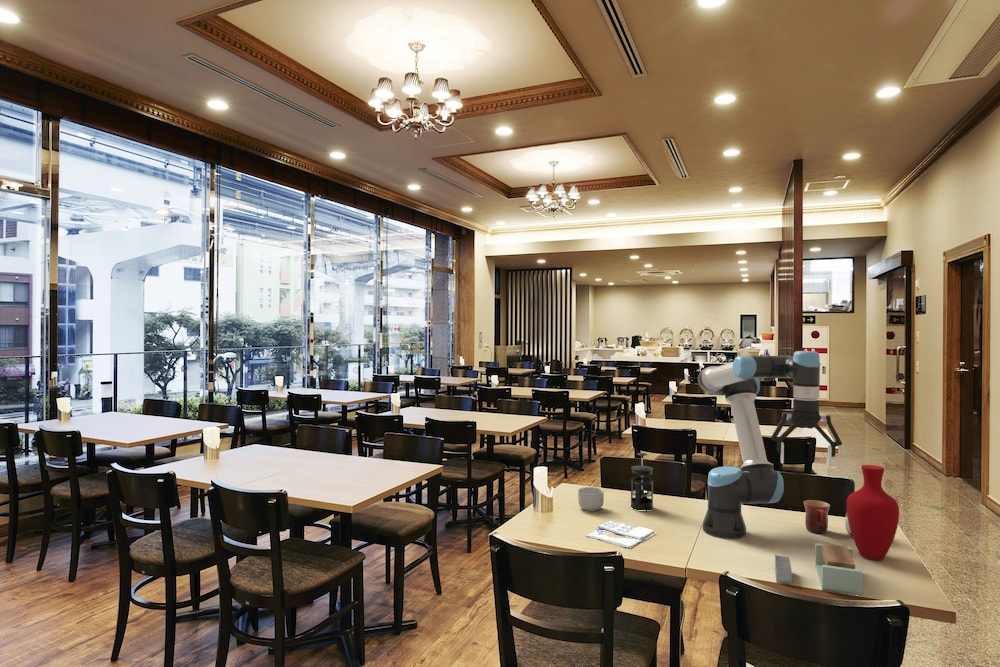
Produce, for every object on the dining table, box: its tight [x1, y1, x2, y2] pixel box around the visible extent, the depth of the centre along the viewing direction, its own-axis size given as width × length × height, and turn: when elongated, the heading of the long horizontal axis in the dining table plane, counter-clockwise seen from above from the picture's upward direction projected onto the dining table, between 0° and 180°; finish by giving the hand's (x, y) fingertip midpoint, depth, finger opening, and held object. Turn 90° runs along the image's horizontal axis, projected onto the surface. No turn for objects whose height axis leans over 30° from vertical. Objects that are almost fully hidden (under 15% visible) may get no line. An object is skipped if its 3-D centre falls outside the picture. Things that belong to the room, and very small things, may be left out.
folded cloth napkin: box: [585, 520, 656, 549], centre depth 215 cm, size 19×20×2 cm
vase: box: [846, 464, 900, 561], centre depth 195 cm, size 15×15×30 cm
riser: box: [774, 554, 792, 585], centre depth 179 cm, size 4×10×4 cm, turn 157°
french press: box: [630, 452, 654, 512], centre depth 246 cm, size 12×9×23 cm
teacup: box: [577, 485, 605, 512], centre depth 247 cm, size 14×11×8 cm
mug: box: [803, 499, 831, 535], centre depth 218 cm, size 12×9×10 cm
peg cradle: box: [814, 542, 864, 597], centre depth 177 cm, size 10×20×7 cm, turn 157°
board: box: [821, 543, 856, 569], centre depth 177 cm, size 7×15×3 cm, turn 157°
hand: (805, 464), depth 190 cm, fingers open, 13 cm apart
